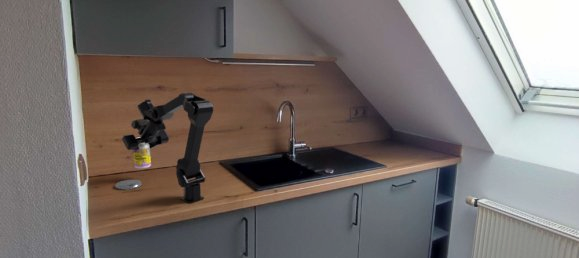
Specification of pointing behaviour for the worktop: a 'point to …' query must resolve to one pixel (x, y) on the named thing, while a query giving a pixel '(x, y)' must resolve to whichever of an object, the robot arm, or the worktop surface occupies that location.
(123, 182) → the steel plate
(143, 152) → the supplement bottle
